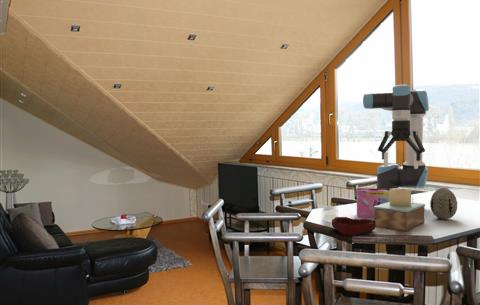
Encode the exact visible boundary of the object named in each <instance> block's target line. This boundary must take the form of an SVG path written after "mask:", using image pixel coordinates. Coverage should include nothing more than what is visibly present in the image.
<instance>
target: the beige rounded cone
mask: <svg viewBox="0 0 480 305" xmlns="http://www.w3.org/2000/svg"><path fill="white" fill-rule="evenodd" d="M411 203H412V189H411V188H409V189H408V188H402V187H399V188H393V189H390V205H391V206H398V207H409V206H411Z"/></svg>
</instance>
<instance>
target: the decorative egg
mask: <svg viewBox="0 0 480 305" xmlns="http://www.w3.org/2000/svg"><path fill="white" fill-rule="evenodd" d="M429 202H430V204H429V206H430V211H431V213H432V214H433V215H434V216H435V217H436V218H438V219H441V220H448V219H450V218H453V217H454V216H455V214H457V211H458V201H457V197H456V196H455V193H454V192H453V191H452V190H451V189H449V188H446V187H441V188H438V189H436V190H435V191H434V192H433V193H432V196H431V198H430V200H429Z"/></svg>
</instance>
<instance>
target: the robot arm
mask: <svg viewBox="0 0 480 305" xmlns="http://www.w3.org/2000/svg"><path fill="white" fill-rule="evenodd" d="M362 106H363V108H364V109H366V110H367V109H368V110H369V109H370V110H373V109H374V110H375V109H381V110H384V111H391V112H392V113H391V119H392V120H393V121H392V122H391V131H390V130H385V131H384V136H383V138H382V140H381V142H380V144H379V146H378V148H377V151H378V152H381V160H383V164H382V165H379V166H377V170H376V189H393V188H404V189H408V188H409V189H424V188H425V187H426V184H427V179H428V175H429V174H428V173H429V168H428V167H427V166H426V162H424V161H423V153H425V152H426V149H425V147H424V145H423V132H424V131H423V126H424V125H423V123H424V122H423V120H424V119H423V118H424V116H426V115H427V112H428V111H429V110H430V107H429V97H428V93H427V91H426V90H425V89H417V88H416V89H411V86H410V85H409V84H397V85H393V87H392V90H391V91H386V92H385V91H384V92H366V93H364V94H363V98H362ZM390 136H392V137H391V139H390V140H389V141H388V139H389V137H390ZM387 142H388V143H387ZM395 142H405V161H403V163H402V166H400V164H398V163H390V164H389V160H388V159H389V158H388V157H389V153H388V152H387V151H388V150H389V149H390V148H391V147H392V146H393V144H394V143H395Z"/></svg>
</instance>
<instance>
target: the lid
mask: <svg viewBox="0 0 480 305" xmlns="http://www.w3.org/2000/svg"><path fill="white" fill-rule="evenodd" d="M423 206H424V207H425V206H426V204H425V203H418V202H411V206H409V207H398V206H391V205H390V202H387V203H384V204H380V205H377V206H374V207H373V208H375V209H383V210H386V212H387V213H393V211H400V212H410V211H412V210H415V209H418V208H420V207H423Z"/></svg>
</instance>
